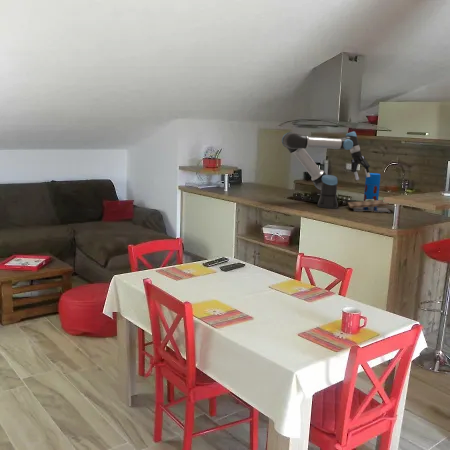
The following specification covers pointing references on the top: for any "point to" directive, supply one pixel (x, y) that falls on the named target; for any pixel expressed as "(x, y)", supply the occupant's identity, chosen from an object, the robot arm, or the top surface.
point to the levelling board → (368, 203)
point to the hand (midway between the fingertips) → (363, 178)
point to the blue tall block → (372, 187)
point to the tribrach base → (372, 209)
